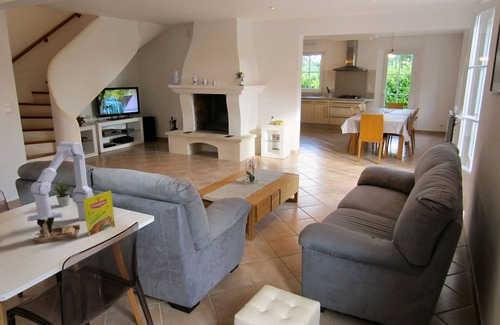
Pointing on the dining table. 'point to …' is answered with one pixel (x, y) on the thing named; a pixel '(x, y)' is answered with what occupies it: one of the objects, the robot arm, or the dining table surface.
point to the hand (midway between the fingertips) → (48, 232)
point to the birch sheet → (46, 229)
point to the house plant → (62, 193)
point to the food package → (99, 212)
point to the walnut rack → (57, 235)
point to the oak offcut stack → (68, 231)
